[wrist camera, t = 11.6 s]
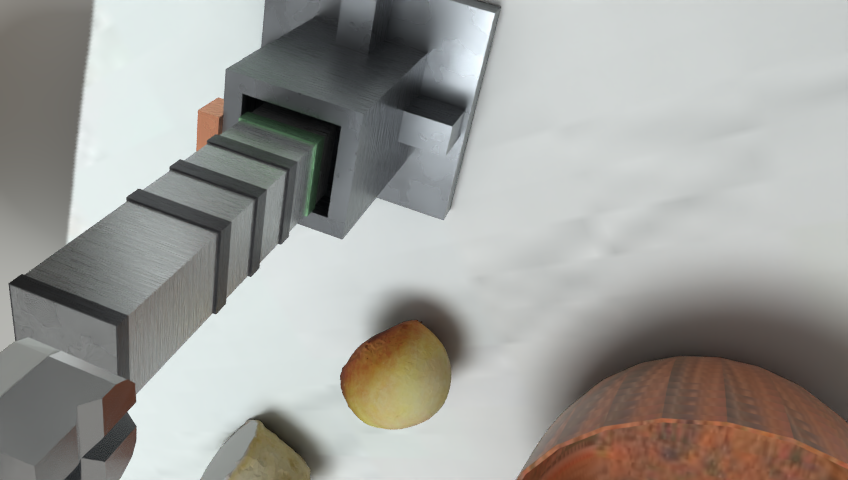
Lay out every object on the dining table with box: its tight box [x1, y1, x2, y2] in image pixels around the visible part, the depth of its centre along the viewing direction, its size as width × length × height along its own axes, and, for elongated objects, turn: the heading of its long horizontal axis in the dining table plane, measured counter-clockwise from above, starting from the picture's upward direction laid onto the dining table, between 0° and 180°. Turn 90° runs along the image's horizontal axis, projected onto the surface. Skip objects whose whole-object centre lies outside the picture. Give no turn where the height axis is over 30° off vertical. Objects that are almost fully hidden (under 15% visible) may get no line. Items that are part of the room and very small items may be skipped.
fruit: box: [340, 320, 451, 429], centre depth 56 cm, size 8×8×8 cm
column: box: [9, 102, 337, 394], centre depth 34 cm, size 4×4×18 cm
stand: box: [196, 0, 501, 239], centre depth 45 cm, size 14×14×12 cm
